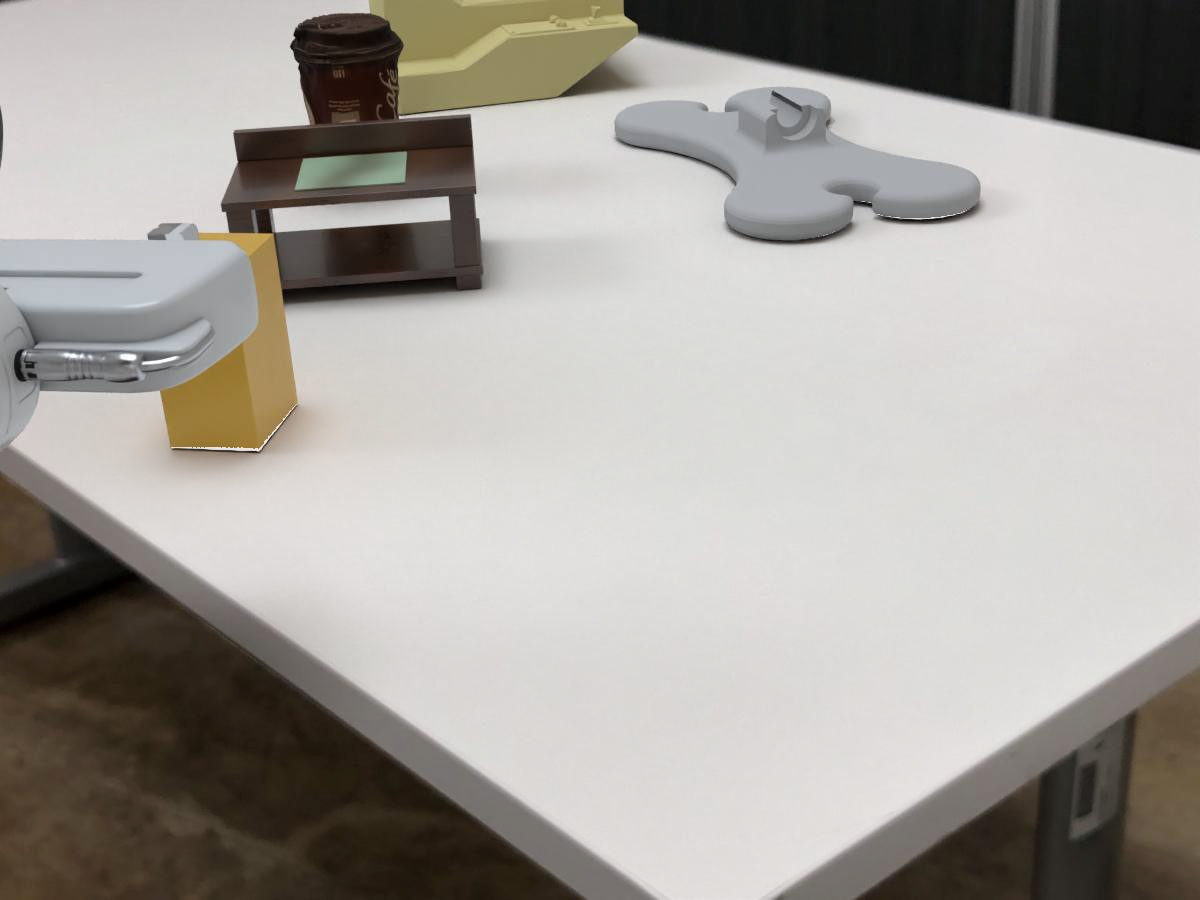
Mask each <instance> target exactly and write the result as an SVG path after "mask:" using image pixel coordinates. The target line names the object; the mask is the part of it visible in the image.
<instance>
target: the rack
mask: <svg viewBox="0 0 1200 900" xmlns="http://www.w3.org/2000/svg"><path fill="white" fill-rule="evenodd" d="M472 126H473V125H472V115H471V114H470V113H463V114H449V115H436V116H435V115H434V116H422V117H421V116H420V117H418V116H417V117H406V118H405V117H403V118H399V119H389V120H374V121H359V122H344V123H330V124H315V125H310V124H301V125H288V126H287V125H286V126H273V127H272V126H271V127H257V128H243V129H242V128H241V129H234V130H233V132H232V134H233V142H234V148H235V153H236V154H235V155H236V161H237V163H236V165H235V166H234V167H235V168H234V170H233V173H232V175H231V178H230V180H229V183H228V185H227V188H226V190H225V192H224V195H223V197H222V200H221V202H220V209H221V212H222V213H225V215H226V223H227V228H228V233H263V234H273V235H274V242H275V248H276V255H277V262H278V269H279V276H280V283H281V290H290V289H291V290H292V289H293V290H295V289H306V288H307V289H308V288H321V287H332V286H347V285H358V284H359V285H361V284H372V283H386V282H387V283H388V282H401V281H414V280H426V279H427V280H428V279H429V280H430V279H440V278H453V277H454V278H455V283H456V290H457V291H458V290H473V289H482V276H481V275H484V263H483V262H484V261H483V249H482V235H481V233H482V232H481V222H480V218H479V217H477V208H476V197H475V195H477V194H478V193H477V192H478V191H477V179H476V178H477V177H476V165H475V164H476V163H475V148H474V136H473V127H472ZM442 197H443V198H444V197H448V208H449V217H450V219H444V220H443V219H442V220H429V221H417V222H416V221H415V222H414V221H413V222H402V223H401V222H399V223H390V224H389V223H386V224H376V225H375V224H374V225H373V224H372V225H359V226H347V227H345V226H343V227H332V228H317V229H304V230H290V231H276V226H275V218H274V212H273V210H275V209H287V208H302V207H315V206H332V205H346V204H359V203H373V202H386V201H401V200H414V199H415V200H416V199H428V198H442Z"/></svg>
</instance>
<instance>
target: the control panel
mask: <svg viewBox="0 0 1200 900" xmlns="http://www.w3.org/2000/svg"><path fill="white" fill-rule="evenodd" d="M624 2H625V1H624V0H368V5H369V6H368V7H369V13H371V14H373V15H377V16H380V17H382V18H383V19H385V20H387V21H389V22H390V27H391V30H392V31H394V32H395V33H396V34H397V35H398V36H399V38H400V39H401V40H402V42H403V44H404V47H403V50H402V51H401V54H400V56H399V59H398V84H399V89H400V90H399V95H398V114H399V115H409V114H415V113H423V112H433V111H435V112H436V111H442V110H444V111H445V110H452V109H461V108H471V107H480V106H489V105H497V104H498V105H499V104H507V103H514V102H523V101H524V102H525V101H532V100H543V99H551V98H552V99H553V98H558V97H559V96H560V95H562V94H563V93H565V92H566V91H568V90H569V89H570V88H572V87H573V86H574V85H575V84H577V83H578V82H579V81H580V80H581V79H583V78H584V77H586V76H587V75H588V74H589V73H591V72H592V71H594V69H595V68H597V67H599V66H600V65H601V64H602V63H605V61H606V60H608V59H610V57H612V56H613V55H614V54H616V53H617V52H618V51H620V50H621V49H622V48H623V47H626V45H627V44H629V43H630V42H631V41H632V40H634V39H635V38H637V37H638V36H639V29H638V28H639V27H638V24H637V23H636V22H634V21H632V20H631V19H629V18H628V17H627V16H625V12H624V11H625V10H624V9H625V6H624V4H625V3H624Z"/></svg>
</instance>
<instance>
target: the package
mask: <svg viewBox="0 0 1200 900" xmlns="http://www.w3.org/2000/svg"><path fill="white" fill-rule="evenodd" d="M198 234H199V240H224V241H231V242H234V243H236V244H237V245H239V246H240V247H241V248H242V249H243V250H244V251H245V252H246V254H247V255H248V257H249V260H250V262H251V266H252V270H253V275H254V280H255V285H256V292H257V300H258V316H259V318H258V324H257V327H256V329H255V330H254V332H253V333H252V334H251V335H250V336H249V337H248V338H247V339H245V340H244V341H243V342H242V343H241V344H240V345H238V346H237V347H236V348H235V349H233V350H232V351H231V352H230V353H229V354H227V355H226V356H224V357H223V358H222V359H220V360H219V361H218V362H216V363H215V364H214V365H212V366H211V367H209V368H208V369H206V370H205V371H203V372H202V373H200V374H199V375H197V376H196V377H194V378H192V379H190V380H188V381H186V382H184V383H182V384H180V385H177V386H174V387H171V388H168V389H164V390H160V391H159V393H160V399H161V404H162V409H163V416H164V420H165V425H166V431H167V435H168V441H169V447H170V448H171V447H192V448H193V447H196V448H197V447H200V448H201V447H204V448H205V447H221V448H222V447H226V448H228V447H230V448H233V447H234V448H237V447H239V448H241V447H243V448H253V449H255V448H258V449H259V448H260V447H261V446H262V445H263V444H264V441H265V440H266V439H268V436H270V435H271V434H272V432H273V431H274V430H275V429H276V427H277V426H278V425H279V424H280V423H281V422H282V421H283V418H285V417H286V415H287V414H288V413H289V411H290V410H292V408H293V407H294V406H295V405H296V404H297V403H298V404H299V401H298V394H297V387H296V386H297V385H296V381H295V372H294V367H293V366H294V365H293V358H292V352H291V345H290V339H289V332H288V331H289V330H288V325H287V318H286V310H285V304H284V297H283V289H281V283H280V276H279V269H278V262H277V255H276V248H275V242H274V235H273V234H263V233H229V232H198Z"/></svg>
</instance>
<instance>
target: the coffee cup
mask: <svg viewBox="0 0 1200 900" xmlns="http://www.w3.org/2000/svg"><path fill="white" fill-rule="evenodd" d="M292 37H294V39H292V41H291V43H290V44H289V48H290V50H291V51H292V52H293V58H294V60H295V62H296V63H297V64H298V66H297V70H298V72H299V76H300V77H299V83H300V89H301V92H302V97H303V102H304V106H305V107H304V108H305V110H306V115H307V119H308V122H309V125H315V124H330V123H344V122H359V121H374V120H389V119H400V114H398V95H399V90H400V89H399V84H398V59H399V56H400V54H401V51H402V50H403V47H404V44H403V42H402V40H401V39H400V38H399V36H398V35H397V34H396V33H395V32H394V31H392V30H391V27H390V22H389V21H387V20H385V19H383V18H382V17H380V16H377V15H373V14H371V13H370V12H369V13H367V12H352V13H351V12H339V13H329V14H322V15H318V16H312V17H311V18H306V19H305V20H303V21H302V22H299V23H298V24H297V26H295V28H294V31H293V35H292Z"/></svg>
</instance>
